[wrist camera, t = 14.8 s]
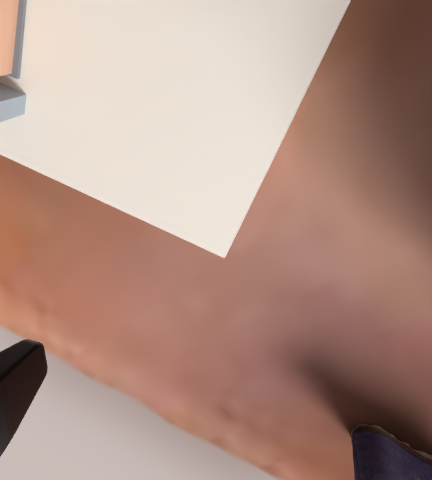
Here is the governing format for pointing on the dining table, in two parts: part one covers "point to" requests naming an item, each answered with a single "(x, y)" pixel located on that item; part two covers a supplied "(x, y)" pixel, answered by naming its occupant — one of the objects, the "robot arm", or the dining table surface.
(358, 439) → the flask
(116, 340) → the dining table surface
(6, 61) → the tall peach block
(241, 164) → the dock
